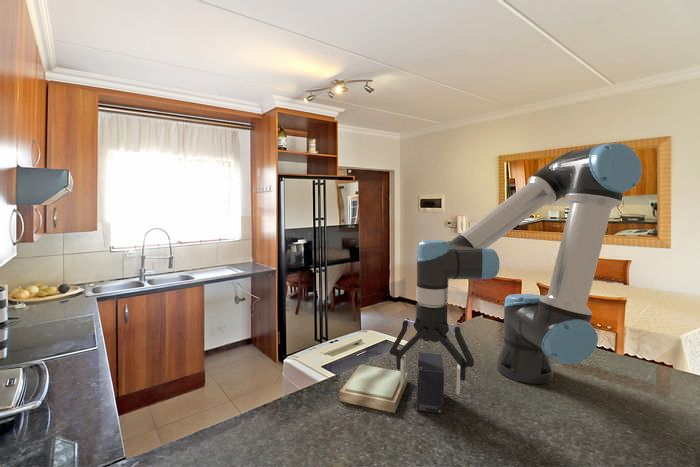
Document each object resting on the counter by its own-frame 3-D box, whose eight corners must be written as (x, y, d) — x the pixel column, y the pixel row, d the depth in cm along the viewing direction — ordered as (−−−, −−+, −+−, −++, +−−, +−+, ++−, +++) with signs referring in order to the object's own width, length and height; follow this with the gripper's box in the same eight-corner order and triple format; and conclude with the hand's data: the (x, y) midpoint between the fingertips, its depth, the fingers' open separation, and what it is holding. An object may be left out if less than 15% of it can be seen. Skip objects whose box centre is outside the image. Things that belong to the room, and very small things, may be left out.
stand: (407, 381, 97) (407, 370, 97) (394, 412, 82) (394, 400, 82) (360, 372, 102) (360, 362, 102) (339, 401, 87) (339, 389, 87)
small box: (444, 415, 81) (445, 372, 81) (415, 412, 83) (416, 369, 82) (441, 391, 92) (442, 353, 91) (416, 389, 93) (417, 351, 92)
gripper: (486, 304, 85) (483, 388, 86) (386, 294, 93) (384, 371, 95) (486, 313, 78) (483, 404, 79) (378, 302, 86) (377, 384, 88)
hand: (429, 386), depth 87 cm, fingers open, 13 cm apart
